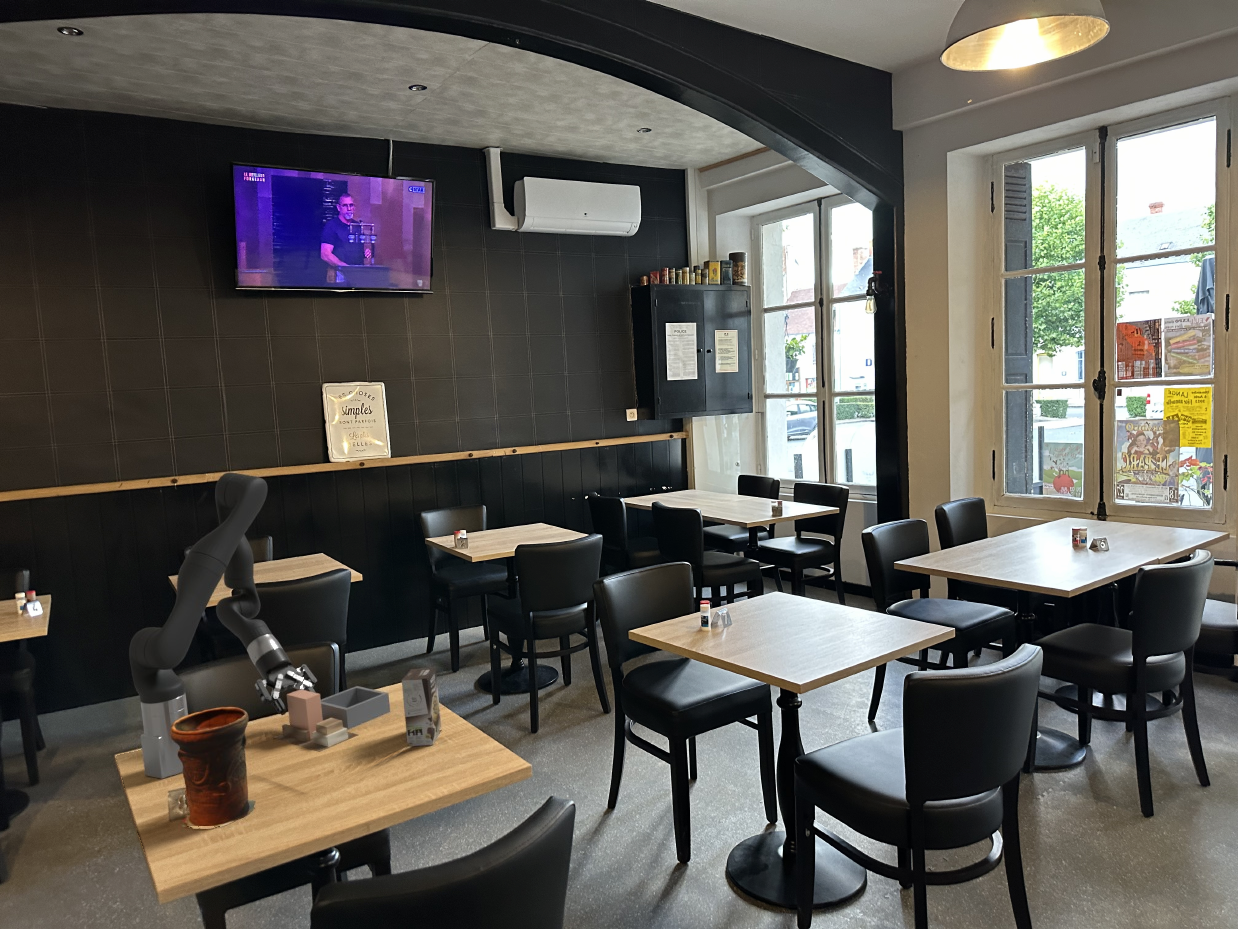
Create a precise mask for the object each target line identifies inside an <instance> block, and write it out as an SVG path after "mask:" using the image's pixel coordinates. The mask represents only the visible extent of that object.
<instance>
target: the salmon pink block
mask: <svg viewBox="0 0 1238 929" xmlns="http://www.w3.org/2000/svg"><path fill="white" fill-rule="evenodd" d="M321 700H322V699H321V693H318V692H316V693H314V692H309V691H305V690H301V689H297V690H296V691H292V692H290V693H287V694H286V701H287V702H286V703H287V712H288V720H289V725H291V726H294V727H298V728H301V729H305V730H308V731H310V739H312V738H313V736H312V732H314V731H316V724H317V723H319V722H322V721H323V718H322V708H321Z"/></svg>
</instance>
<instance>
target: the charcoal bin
mask: <svg viewBox="0 0 1238 929" xmlns="http://www.w3.org/2000/svg"><path fill="white" fill-rule="evenodd" d="M389 696H390V693H389V692H385V691H381V690H376V689H371V688H367V687H363V686H358V685H356V686H354V687H350V688H349V689H346V690H343V691H340V692H338V693H335V694H332V695H330V696H326V697H325V698H322V699H321V708H322V718H323V720H327V719H329V718H334V719H338V720H342V722H343V727H344V728H347V730H348V731H349V730H351V729H354V728H356V727H359V726H361V725H362V724H365V723H369V722H370V721H372V720H375V719H377V718H379V717H382V716H384V715H387V714H389V713H391V706H390V697H389Z"/></svg>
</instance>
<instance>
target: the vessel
mask: <svg viewBox="0 0 1238 929" xmlns="http://www.w3.org/2000/svg"><path fill="white" fill-rule="evenodd" d="M248 714H249V713H248V712H247V711H246V710H244V709H242V708H239V707H234V706H222V707H216V708H211V709H204V710H202V711H198V712H194V713H191V714H188V715H187V716H184V717H182V718H180V719H179V720H177V721H175V722H174V723H173V724H172V726H171V732H170V735H171V738H172V740H173V741H174V742H175V743H176V744H178V745H179V747H180V749H179V751H178V757H179V759H180V760H181V762H182V764H183V771H182V772H181V773H182V775H183V780H184V784H185V785H184V786H185V791H184V794H185V796H186V798H187V805H188V811H189V812H188V813H189V814H186V817H184V819H183V822H182V823H185V824H184V825H182V827H184V828H188V827H187V826H198V827H199V826H214V829H216V828H215V827H216V826H220V827H219V828H221V827H224V826H228V825H229V824H232V823H234V822H235V821H238V820H239V819H243V818H245V817H246V816H248V815H250V814H251V813H252V812H253V811H254V810H256V808H255V805H256V800H254V799H252V798H250V799H249V786H248V774H247V762H246V761H247V760H246V759H247V758H246V750H245V748H246V747H245V746H246V745H247V738H246V729H247V727H248V725H249V724H248V723H249V715H248Z"/></svg>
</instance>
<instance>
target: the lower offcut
mask: <svg viewBox="0 0 1238 929" xmlns="http://www.w3.org/2000/svg"><path fill="white" fill-rule="evenodd" d="M348 732H349V730H348V729H347V728H344V727H343V729H341V730H339V731H337V732H334V733H332V734H329V735H325V734H321V733H318V732H316V731H314V732H312V736H313V743H316V744H320V745H323V746H327V747H330V746H332V745H334V744H337V743H339V742H341V741H344V740H346V739H348ZM346 741H347V740H346ZM344 742H345V741H344ZM339 744H340V743H339ZM337 745H338V744H337ZM332 747H333V746H332ZM330 748H331V747H330Z"/></svg>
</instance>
